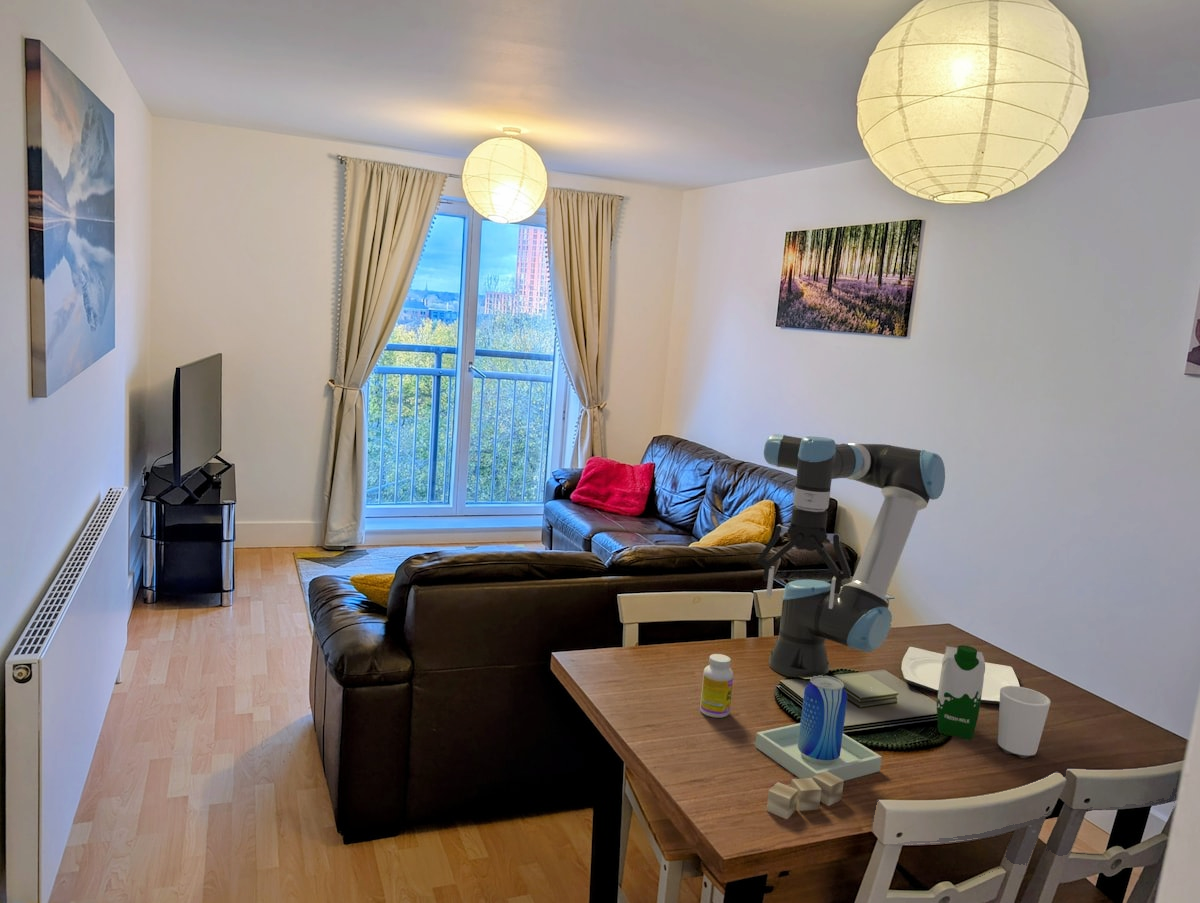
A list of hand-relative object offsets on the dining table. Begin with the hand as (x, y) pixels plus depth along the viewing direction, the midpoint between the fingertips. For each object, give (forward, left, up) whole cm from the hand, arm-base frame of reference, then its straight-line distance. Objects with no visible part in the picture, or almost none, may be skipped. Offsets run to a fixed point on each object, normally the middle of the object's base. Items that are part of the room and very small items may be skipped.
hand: (799, 601), depth 192 cm
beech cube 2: (+22, +30, -27) cm, 46 cm away
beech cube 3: (+28, +30, -27) cm, 49 cm away
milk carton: (-32, +20, -27) cm, 46 cm away
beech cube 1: (+17, +30, -27) cm, 44 cm away
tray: (+8, +18, -27) cm, 33 cm away
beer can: (+8, +18, -26) cm, 33 cm away
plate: (-58, +1, -27) cm, 64 cm away
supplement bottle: (+15, -7, -27) cm, 32 cm away
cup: (-37, +32, -27) cm, 56 cm away
